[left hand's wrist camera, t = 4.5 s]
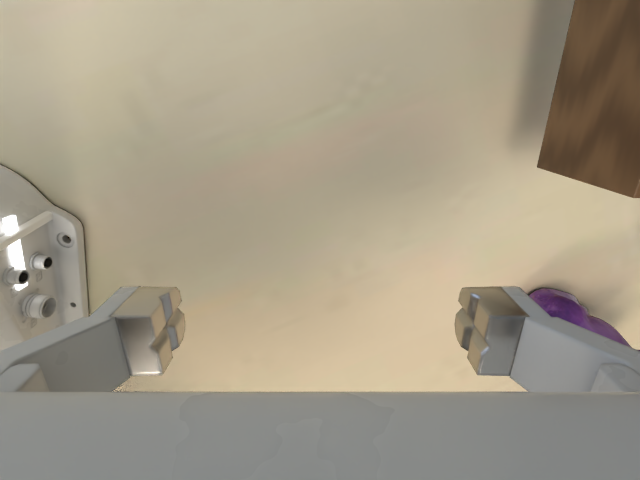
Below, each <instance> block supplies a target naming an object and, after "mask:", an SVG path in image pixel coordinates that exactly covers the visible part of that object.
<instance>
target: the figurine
mask: <svg viewBox="0 0 640 480" xmlns="http://www.w3.org/2000/svg"><path fill="white" fill-rule="evenodd" d="M529 297H530V298H531V299H533V300H534V301H535V302H536V303H537V304H538V305H539V306H540V307H541V308H542V309H543V310H544V311H545V312H547V313H548V314H549V315H550V316H551V317H558V318H561V319H563V320H565V321H568V322H570V323H573V324H575V325H577V326H580V327H582V328H585V329H587V330H590V331H592V332H594V333H597V334H599V335H602V336H604V337H607V338H609V339H611V340H614V341H616V342H619V343H621V344H623V345H626V346H628V347H631V346H630V345H629V344H628V343H627V341H626V340H625V339H624V338H623V337H622V336H621V335H620V334H619V332H618V331H617V330H615V329H614V328H613V327H612V326H611V325H609V324H608V323H606V322H605V321H603V320H601V319H598V318H596V317H592V316H589V314H588V310H587V308H586V307H584V306H582V305H580V304H579V302H578V300H577V298H576V297H575V296H573V295H571V294H569V293H566V292H563V291H558V290H553V289H547V288H542V289H540V290H536V291H534V292H533V293H532V294H530V295H529ZM631 348H632V347H631ZM638 351H640V350H638Z"/></svg>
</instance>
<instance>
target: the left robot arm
mask: <svg viewBox="0 0 640 480" xmlns="http://www.w3.org/2000/svg"><path fill="white" fill-rule="evenodd" d="M67 236H69V237H70V239H71V240H69V239H68V238H67ZM181 301H182V300H181V295H180V291H179V290H178V288H177V287H141V286H127V287H120V288H119V289H118V290H117V291H116V292H115V293H114V294H113V295H112V296H111V297H110V298H109V299H108V300H106V301H105V302H104V303H103V304H102V305H101V306H100V307H99V308H98V309H97V310H96V311H95V312H94V313H92V314H91V315H90V316H89V312H88V296H87V281H86V265H85V249H84V234H83V226H82V224H81V222H80V221H79V220H78V219H77V218H76V217H74V216H73V215H71V214H70V213H68V212H66V211H64V210H62V209H60V208H58V207H56V206H54V205H53V204H52V203H51V202H49V201H48V200H47V199H46V198H45V197H44V196H43V195H42V194H41V193H40V192H39V191H38V190H37V189H36V188H35V187H34V186H33V185H32V184H30V183H29V182H28V181H27V180H25V179H24V178H23V177H21V176H20V175H18V174H17V173H15V172H13V171H12V170H10V169H8V168H6V167H4V166H2V165H0V480H640V351H638V350H636V349H633V348H631V347H628V346H626V345H623V344H621V343H619V342H616V341H614V340H611V339H609V338H607V337H604V336H602V335H599V334H597V333H594V332H592V331H590V330H587V329H585V328H582V327H580V326H577V325H575V324H573V323H570V322H568V321H565V320H563V319H561V318H558V317H551V316H550V315H549V314H548V313H547V312H545V311H544V310H543V309H542V308H541V307H540V306H539V305H538V304H537V303H536V302H535V301H534V300H533V299H531V298H530V297H529V296H528V295H527V294H526V293H525V292H524V291H523V290H522V289H521V288H520V287H516V286H505V287H465V288H462V289H461V292H460V294H459V300H458V301H459V303H460V304H461V306H462V309H461V310H460V311H459V312H458V313H457V314H456V318H455V334H456V337H457V340H458V342H459V344H460V346H461V347H462V348H464V349H466V350H467V351H468V356H467V358H468V360H469V362H470V363H471V365H472V367H473V368H474V370H475V372H476V374H477V375H492V376H510V378H511V379H513V380H514V381H515V382H517V383H518V384H519V385H521V386H522V387H523V388H525V389H526V390H527V391H528V392H112V391H113V390H114V389H116V388H117V387H118V386H120V385H121V384H122V383H124V382H125V381H126V380H128V379H129V378H130V376H148V375H163V374H164V372H165V370H166V368H167V367H168V365H169V363H170V362H171V360H172V358H173V356H172V351H173V350H174V349H176V348H178V347H179V346H180V344H181V342H182V340H183V337H184V332H185V317H184V314H183V313H182V312H181V311H180V310H179V309H178V306H179V304H180V303H181Z"/></svg>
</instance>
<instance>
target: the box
mask: <svg viewBox="0 0 640 480" xmlns="http://www.w3.org/2000/svg"><path fill="white" fill-rule="evenodd" d="M537 167H538V168H541V169H544V170H547V171H550V172H553V173H556V174H560V175H563V176H566V177H569V178H572V179H575V180H578V181H582V182H585V183H588V184H591V185H594V186H597V187H600V188H604V189H607V190H610V191H613V192H616V193H619V194H622V195H626V196H629V197H632V198H640V0H575V2H574V7H573V11H572V16H571V20H570V24H569V29H568V33H567V37H566V42H565V46H564V51H563V55H562V59H561V64H560V68H559V72H558V77H557V81H556V86H555V90H554V94H553V99H552V103H551V107H550V112H549V116H548V121H547V125H546V129H545V134H544V138H543V142H542V147H541V151H540V156H539V160H538V164H537Z"/></svg>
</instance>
